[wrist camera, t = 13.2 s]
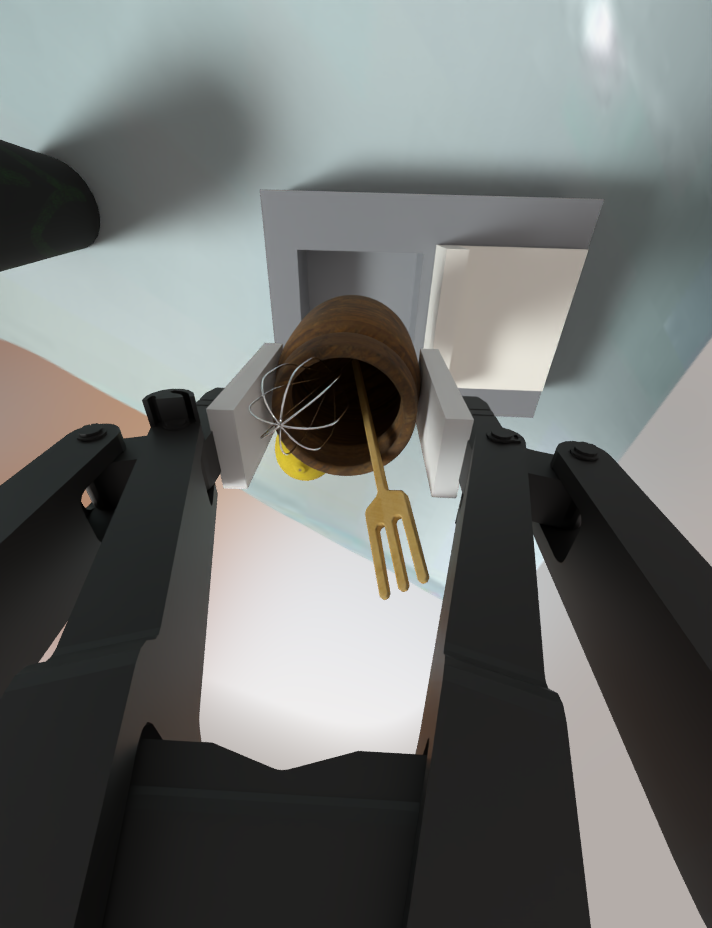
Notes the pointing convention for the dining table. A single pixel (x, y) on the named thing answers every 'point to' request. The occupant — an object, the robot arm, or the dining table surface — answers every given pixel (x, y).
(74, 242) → the cup
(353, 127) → the dining table surface
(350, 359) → the utensil holder
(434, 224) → the socket block
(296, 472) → the lemon
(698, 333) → the dining table surface
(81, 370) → the dining table surface
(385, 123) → the dining table surface
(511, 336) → the panel
